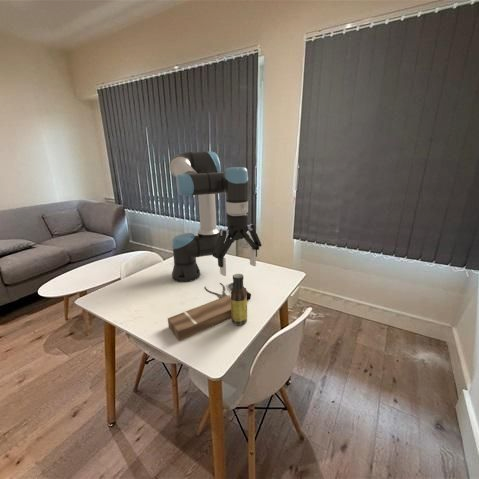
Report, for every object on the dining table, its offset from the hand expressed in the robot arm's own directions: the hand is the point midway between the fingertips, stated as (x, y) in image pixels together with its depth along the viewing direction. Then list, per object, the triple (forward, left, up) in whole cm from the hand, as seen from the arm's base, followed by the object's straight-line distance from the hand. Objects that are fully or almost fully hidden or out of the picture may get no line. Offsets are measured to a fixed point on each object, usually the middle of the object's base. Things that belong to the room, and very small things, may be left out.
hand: (238, 269), depth 97 cm
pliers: (-24, +7, -23) cm, 34 cm away
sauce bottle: (0, 0, -23) cm, 23 cm away
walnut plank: (-9, -10, -23) cm, 26 cm away
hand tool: (-20, +14, -23) cm, 33 cm away
